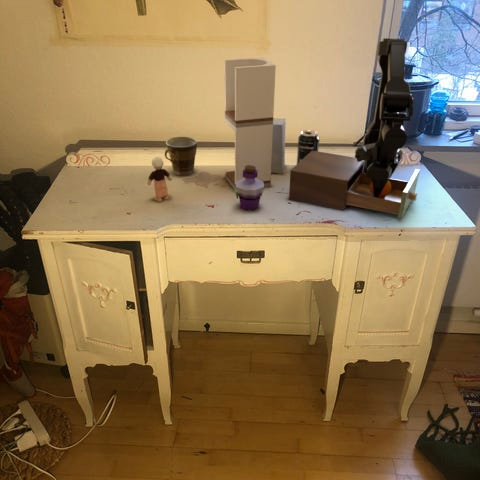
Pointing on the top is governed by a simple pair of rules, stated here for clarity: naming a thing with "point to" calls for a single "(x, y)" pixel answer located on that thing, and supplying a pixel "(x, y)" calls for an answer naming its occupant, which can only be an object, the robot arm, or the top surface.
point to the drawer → (391, 203)
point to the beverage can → (307, 144)
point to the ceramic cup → (182, 154)
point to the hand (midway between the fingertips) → (379, 191)
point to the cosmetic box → (278, 146)
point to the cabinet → (324, 179)
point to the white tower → (250, 115)
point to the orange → (384, 192)
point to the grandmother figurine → (159, 179)
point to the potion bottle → (249, 189)
